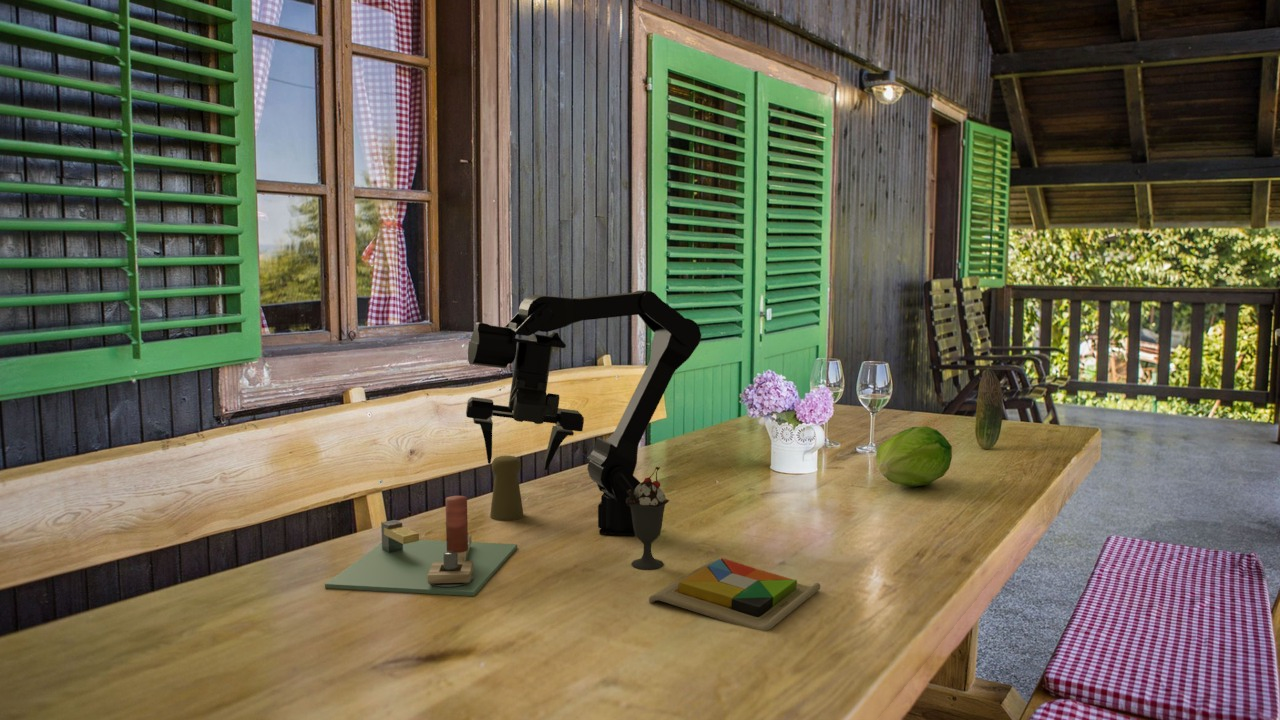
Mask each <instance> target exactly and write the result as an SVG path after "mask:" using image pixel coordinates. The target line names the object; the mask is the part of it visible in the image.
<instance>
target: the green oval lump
mask: <svg viewBox="0 0 1280 720" xmlns="http://www.w3.org/2000/svg"><path fill="white" fill-rule="evenodd" d="M952 448H953V447H952V445H951V443H950V442H949V441H948V440H947V438H946V437H945V436H944V435H943V434H942V433H941V432H940V431H939V430H938V429H935V428H933V427H931V426H914V427H910V428H907V429H904V430H902V431H900V432H898V433H897V434H895V435H893V436H892V437H890V438H888V439H887V440H885V441H884V442H883V443H882V444H879V446H877V448H876V455H875V459H876V464H877V465H876V466H877V468H878V471H879V473H880V474H881V475H882V476H883V477H884V478H886V479H887V480H888V482H890V483H893V484H898V485H900V486H901V485H902V486H906V487H911V488H912V487H920V486H926V485H930V484H932V483H933V482H935V481H936V480H938V479H941V478H942V477H943V476H945V475H946V473H947V472H948V470H949V469H950V468H951V463H952V462H951V461H952V455H953V451H952V450H953V449H952Z"/></svg>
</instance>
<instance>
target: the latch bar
mask: <svg viewBox="0 0 1280 720" xmlns="http://www.w3.org/2000/svg"><path fill="white" fill-rule="evenodd" d="M445 528H446V529H445V530H446V531H445V532H446V534H445V537H446V540H445V541H447V551H456V552H458V571H445V572H444V562H433V563H432V566H431V568H430V571H429V573H428V583H466V582H470V579H471V575H472V572H473V561H466V558H467V555H468V552H469V548H470V545H471V542H472V534H471V533H469V531H468V529H469V527H468V496H464V495H451V496H448V497H446V498H445ZM468 533H469V534H468Z"/></svg>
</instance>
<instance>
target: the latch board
mask: <svg viewBox="0 0 1280 720" xmlns="http://www.w3.org/2000/svg"><path fill="white" fill-rule="evenodd" d="M517 549H518V544H517V543H501V542H498V543H496V542H479V541H471V545H470V548H469V552H468V555H467V558H466V561H473V572H472V574H473V576H474V580H473V581H472V582H471V583H469V584H467V585H464V586H460V587H453V588H440V587H435V586H432V585H430V584H429V583H428V573H429V571H430V568H431V566H432V563H433V562H444V557H443V553H444V552H447V541H446V540H439V539H437V540H436V539H419V541H416V542H412V543H407V544H403V550H400V551H396V552H391V553H388V552H386V551H384V550H382V542H381V543H379V544H378V545H377V546H375V547H374V548H373V549H371V550H370V551H368V552H367V553H365V554H363V555H362V556H361V557H360V558H359V559H358V560H357V559H356V561H354V562H353V563H352V564H350V565H349V566H348V567H346V568H345V569H343V570H342V571H341V572H339V573H338V574H337V575H335V576H334V577H332V578H331V579H330V580H329V581H327V582H326V583H324V589H335V590H338V589H340V590H353V591H354V590H355V591H371V592H388V593H389V592H390V593H408V594H409V593H410V594H425V595H426V594H427V595H428V594H429V595H442V596H443V595H444V596H448V595H449V596H463V597H465V596H466V597H475V596H476V594H478V593H479V591H480V590H481V589H482V588H483V587H484V585H486V583H488V581H489V580H490V579H491V578H492V576H494V575H495V574H496V573H497V571H498V570H499V569H500V568H501V567H502V565H503V564H504V563H505V562H506V561H507V560H508V559H509V558H510V557H511V555H513V553H514V552H516V550H517Z"/></svg>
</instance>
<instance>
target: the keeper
mask: <svg viewBox="0 0 1280 720" xmlns="http://www.w3.org/2000/svg"><path fill="white" fill-rule="evenodd" d="M380 523H381V525H380V526H381V543H382V550H384V551H386V552H388V553H391V552H396V551H400V550H403V544H407V543H412V542H416V541H419V540H420V533H418V532H417V531H414V530H412V529H411V528H408V527H406V526H405V525H403V522H401V521H400V520H397V519H393V520H392V519H391V520H387V521H386V520H385V521H382V522H380Z"/></svg>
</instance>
